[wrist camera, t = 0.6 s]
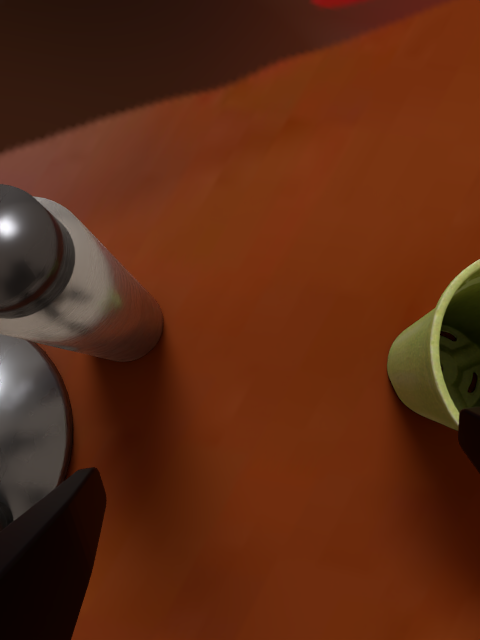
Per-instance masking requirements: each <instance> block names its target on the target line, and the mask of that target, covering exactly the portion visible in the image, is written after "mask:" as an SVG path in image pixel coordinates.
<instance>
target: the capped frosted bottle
mask: <svg viewBox="0 0 480 640" xmlns="http://www.w3.org/2000/svg"><path fill="white" fill-rule="evenodd" d="M162 330H163V314H162V311H161V308H160V306H159V304H158V303H157V301H156V300H155V299H154V298H153V297H152V296H151V295H150V294H149V292H148V291H147V290H146V289H145V288H144V287H143V286H142V285H141V284H140V283H139V282H138V281H137V280H136V279H135V278H134V277H133V276H132V275H131V274H130V273H129V272H128V271H127V270H126V269H125V268H124V267H123V266H122V264H121V263H120V262H119V261H118V260H117V259H116V258H115V257H114V256H113V255H112V254H111V253H110V252H109V251H108V250H107V249H106V248H105V247H104V246H103V245H102V244H101V243H100V242H99V241H98V240H97V239H96V238H95V236H94V235H93V234H92V233H91V232H90V231H89V230H88V229H87V228H86V227H85V226H84V225H83V224H82V223H81V222H80V221H79V220H78V219H77V218H76V217H75V216H74V215H73V214H72V213H71V212H70V211H69V210H68V209H66V208H65V207H63V206H62V205H60V204H58V203H56V202H54V201H51V200H48V199H45V198H40V197H33V196H31V195H30V194H28V193H27V192H25V191H23V190H21V189H19V188H16V187H13V186H9V185H3V184H0V334H2V335H7V336H11V337H15V338H19V339H24V340H28V341H32V342H36V343H41V344H45V345H49V346H53V347H58V348H62V349H66V350H70V351H75V352H79V353H83V354H87V355H92V356H96V357H100V358H104V359H109V360H113V361H118V362H128V361H133V360H136V359H139V358H141V357H143V356H144V355H146V354H147V353H148V352H150V351H151V350H152V349H153V348H154V346H155V345H156V344H157V342H158V340H159V338H160V336H161V334H162Z"/></svg>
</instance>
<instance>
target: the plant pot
mask: <svg viewBox="0 0 480 640" xmlns="http://www.w3.org/2000/svg"><path fill="white" fill-rule="evenodd" d="M440 331H444V332H448V333H450V334H452V335H453V336H454V337H455V338H456V339H457V340H456V341H452V340H450V339H448V338H446V337H444V336H441V335H440ZM441 366H442V368H443V370H441ZM387 370H388V376H389V378H390V381H391V383H392V385H393V387H394V389H395V391H396V393H397V395H398V397H399V399H400V400H401V401H402V402H403V403H404V404H405V405H406V406H407V407H408V408H410V409H411V410H413V411H414V412H416V413H418V414H420V415H422V416H424V417H426V418H428V419H431V420H433V421H436V422H438V423H440V424H443V425H445V426H447V427H450V428H452V429H454V430H457V431H458V425H459V413H460V411H461V410H462V409H464V408H470V407H480V259H479V260H478V261H476V262H474V263H473V264H471V265H470V266H469V267H467V268H466V269H465V270H463V271H462V272H461V273H460V274H459V275H458V276H456V277H455V278H454V280H453V281H452V282H451V283H450V284H449V286H448V287H447V288H446V290H445V291H444V292H443V294H442V296H441V298H440V299H439V301H438V304H437V306H436V308H435V309H433V310H432V311H430V312H429V313H428V314H426V315H425V316H424V317H422V318H421V319H419V320H418V321H417V322H415V323H414V324H413V325H411V326H410V327H408V328H407V329H405V330H404V331H403V332H402V333H401V334H400V335H399V336H398V337H397V338H396V340H395V341H394V343H393V344H392V346H391V349H390V352H389V355H388V363H387ZM474 372H475V373H476V375H477V382H476V386H475V389H474V391H473V392H472V393H468V388H469V386H470V384H471V383H472V379H473V373H474Z"/></svg>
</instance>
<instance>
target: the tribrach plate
mask: <svg viewBox="0 0 480 640" xmlns="http://www.w3.org/2000/svg"><path fill="white" fill-rule="evenodd" d="M72 444H73V420H72V410H71V405H70V401H69V397H68V392H67V390H66V387H65V385H64V382H63V380H62V377H61V375H60V374H59V372H58V370H57V368H56V366H55V365H54V363H53V362H52V361H51V359H50V358H49V357H48V355H47V354H46V353H45V352H44V351H43V350H42V349H41V348H40V347H39V346H38V345H37V344H36V343H35V342H32V341H28V340H24V339H19V338H15V337H11V336H7V335H2V334H0V531H2V530H3V529H4V528H5V527H7V526H8V525H9V524H10V523H12V522H13V521H14V520H16V519H17V518H18V517H19V516H21V515H22V514H23V513H24V512H26V511H27V510H28V509H29V508H31V507H32V506H33V505H35V504H36V503H37V502H38V501H40V500H41V499H42V498H43V497H45V496H46V495H47V494H49V493H50V492H51V491H52V490H54V489H55V488H56V487H57V486H59V485H60V484H61V483H62V482H64V481H65V478H66V474H67V470H68V467H69V463H70V458H71V451H72Z"/></svg>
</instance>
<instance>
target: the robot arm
mask: <svg viewBox="0 0 480 640" xmlns="http://www.w3.org/2000/svg"><path fill="white" fill-rule="evenodd" d="M458 440H459V444H460V446H461V448H462V449H463V451H464V452H465V454H466V455H467V456H468V458H469V459H470V461H471V462H472V463H473V465H474V466H475V468H476V469H477V470H478V472H479V473H480V407H470V408H464V409H462V410H461V411H460V413H459V425H458ZM105 508H106V493H105V490H104V486H103V483H102V480H101V476H100V473H99V471H98V469H97V468H95V467H92V468H86V469H80V470H78V471H76V472H75V473H74V474H73V475H71V476H70V477H69V478H68V479H66V480H65V481H64V482H62V483H61V484H60V485H59V486H57V487H56V488H55V489H54V490H52V491H51V492H50V493H49V494H47V495H46V496H45V497H43V498H42V499H41V500H40V501H38V502H37V503H36V504H35V505H33V506H32V507H31V508H29V509H28V510H27V511H26V512H24V513H23V514H22V515H21V516H19V517H18V518H17V519H16V520H14V521H13V522H12V523H10V524H9V525H8V526H7V527H5V528H4V529H3V530H2V531H0V640H71V638H72V635H73V631H74V628H75V625H76V622H77V619H78V616H79V612H80V609H81V606H82V603H83V600H84V596H85V593H86V590H87V587H88V583H89V580H90V577H91V573H92V569H93V565H94V560H95V556H96V551H97V546H98V541H99V537H100V532H101V527H102V522H103V518H104V513H105Z"/></svg>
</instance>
